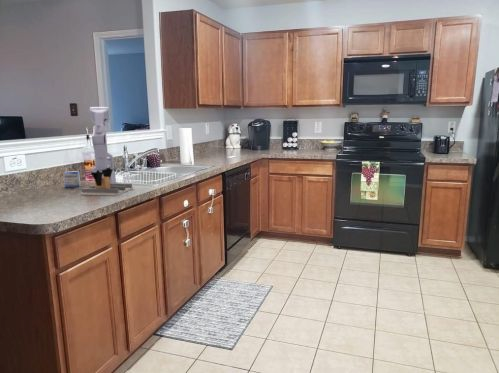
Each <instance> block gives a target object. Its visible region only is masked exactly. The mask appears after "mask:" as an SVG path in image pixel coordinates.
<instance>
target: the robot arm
mask: <svg viewBox="0 0 499 373" xmlns="http://www.w3.org/2000/svg"><path fill="white" fill-rule="evenodd" d="M89 116H90V119H91V120H90V121H91V122H92V123H94V125H93V132H92V134H93V135H91V141H92V142H91V143H92V146H93V151H94V152H93V153H94V166H93V167H92V168H91V172H90V175H91V176H92V177H93V180H94V183H95V182H96V184H97V186H101V185H102V177H109V178H110V183H112V184H119V183H118V182H117V178H116V172H115V170H114V168H115V161H114V155H113V154H111V153H110V152H109V151H108V142H107V141H108V140H107V130H106V128H107V123H110V120H111V118H110V116H111V115H110V107H108V106H90V107H89Z"/></svg>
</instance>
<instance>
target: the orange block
mask: <svg viewBox="0 0 499 373" xmlns="http://www.w3.org/2000/svg"><path fill="white" fill-rule="evenodd" d="M94 186H95V188H103V189H110V178H109V177H102V185H101V186H97V184H96V182H95V181H94Z"/></svg>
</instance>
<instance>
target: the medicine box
mask: <svg viewBox="0 0 499 373" xmlns="http://www.w3.org/2000/svg"><path fill="white" fill-rule="evenodd" d="M62 175H63V182H64V188H65V187H68V188H76V187H77V188H79V187H81V184H82V183H81V176H80V170H75V171H73V170H72V171H71V170H70V171H64V172H63V174H62Z"/></svg>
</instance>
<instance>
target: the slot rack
mask: <svg viewBox="0 0 499 373" xmlns="http://www.w3.org/2000/svg"><path fill="white" fill-rule="evenodd" d="M80 189H81V192H80V195H83V196H87V195H89V196H120V195H122V194H124V193H126V192H129V191H132V190H134V187H133V184H132V183H118V184H112V183H110V189H103V188H95V185H89V187H82V188H80Z"/></svg>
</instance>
